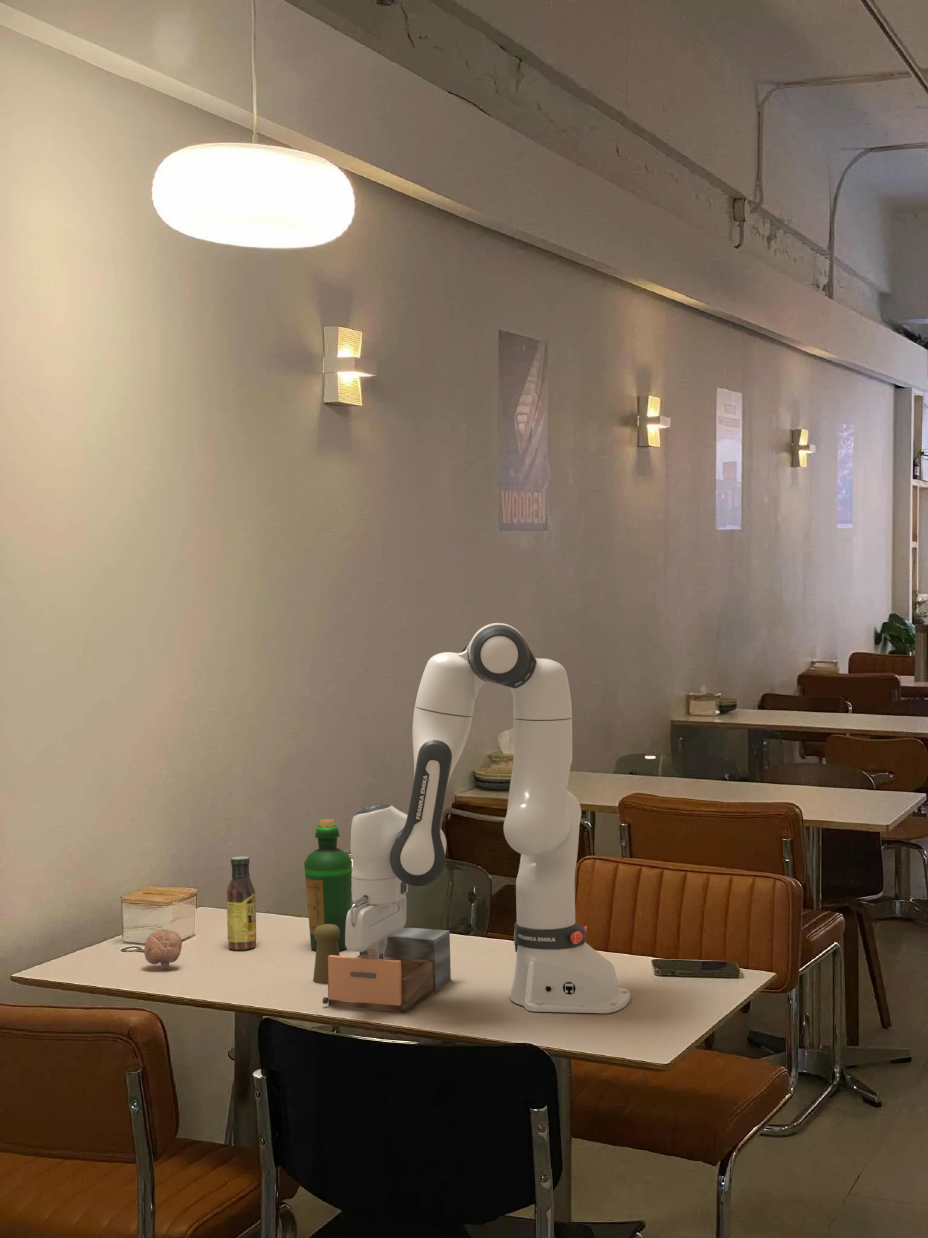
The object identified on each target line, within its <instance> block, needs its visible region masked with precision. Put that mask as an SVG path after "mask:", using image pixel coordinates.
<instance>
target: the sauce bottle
mask: <svg viewBox="0 0 928 1238" xmlns="http://www.w3.org/2000/svg"><path fill="white" fill-rule="evenodd" d="M230 864H231V880H230V882H229V883H228V886H227V888H226V889H227V890H226V894H227V897H226V915H227V917H226V919H227V921H226V922H227V941H228V944H227V945H228V948H229V949H230V950H232V951H246V950H250V949H254V948H255V947H256V945H257V908H256V907H257V906H256V905H257V904H256V901H257V900H256V891H255V888H254V886H253V882H252V881H251V880H252V879H251V877H250V864H251V863H250V857H249V856H246V855H245V856H244V855H242V856H241V855H240V856H233V857H231V858H230Z"/></svg>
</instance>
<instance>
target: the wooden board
mask: <svg viewBox="0 0 928 1238" xmlns="http://www.w3.org/2000/svg"><path fill="white" fill-rule="evenodd" d="M328 980H329V999H332V1000H343V1001H354V1002H365V1003H377V1004H388V1005H399V1006H400V1005H401V1004H402V981H401V961H400V960H387V959H374V958H361V957H357V956H346V955H345V956H344V955H340V956H335V955H330V956H328Z"/></svg>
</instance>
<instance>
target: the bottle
mask: <svg viewBox="0 0 928 1238" xmlns="http://www.w3.org/2000/svg"><path fill="white" fill-rule="evenodd" d="M338 826H339V825H337V824H335V819H333V818H332V819H331V818H325V819H324V818H323V819H320V820H319V825H317V826H316V828H315V833H314V834H315V835H314V837H315V838H316V839H317V845H318V848H317V849H315V850H314V851H312V852H310V854H308V855H307V857H306V859H305V860H304V876H305V888H306V901H307V902H306V903H307V914H308V926H309V935H310V936H309V938H310V948H311V949H312V950H314V951H316V948H317V941H316V940H315V937H314V931H315V929H316V927H317V926H319V925H323V924H333V925H336V926H338V928H339V929H340V938H339V939H338V947H339V952H340V951H343V950H346V949H347V948H346V945H345V930H346V917H347V913H348V911H349V910H350V909H351V908H352V905H351V903H352V879H351V874H352V870H353V860H352V858H351V857H350V856H349V854H348V853H347V852H346V851H344V850H343V849H340V848H339V847H337V846H338V838H340V832H339V828H338Z"/></svg>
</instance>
